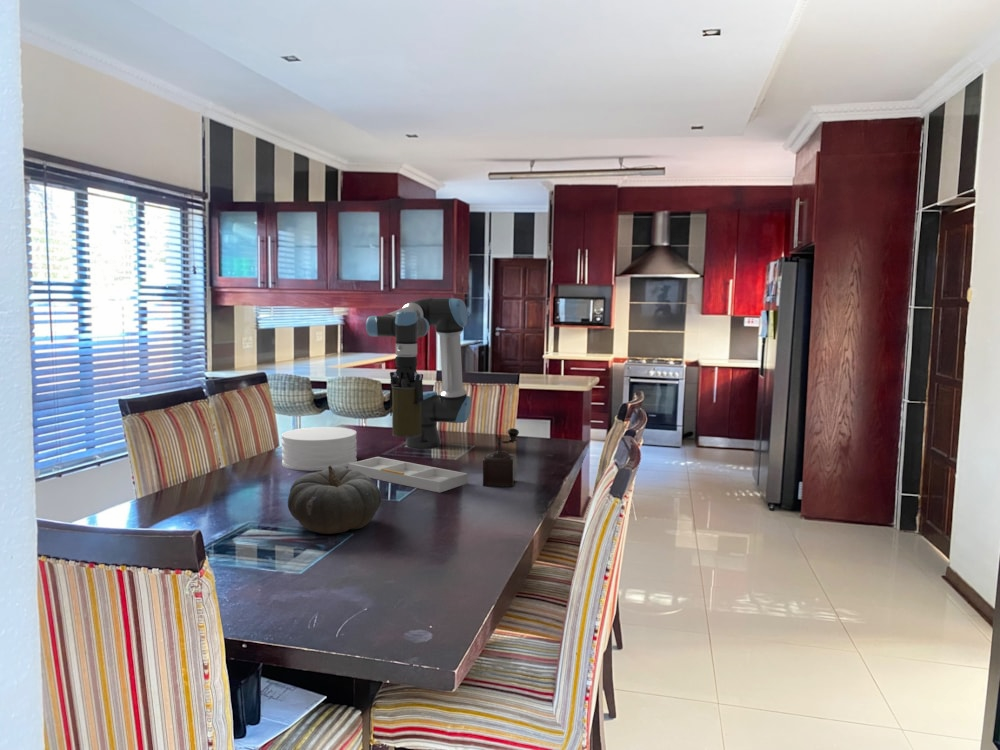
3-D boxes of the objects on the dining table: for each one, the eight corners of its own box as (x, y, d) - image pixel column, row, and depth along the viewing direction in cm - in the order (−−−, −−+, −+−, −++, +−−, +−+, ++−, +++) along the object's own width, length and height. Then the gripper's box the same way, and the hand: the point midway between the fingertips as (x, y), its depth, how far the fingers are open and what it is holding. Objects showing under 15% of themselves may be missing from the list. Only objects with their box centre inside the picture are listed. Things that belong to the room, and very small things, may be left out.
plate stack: (365, 455, 282) (365, 427, 281) (343, 472, 255) (343, 441, 253) (298, 453, 285) (298, 425, 284) (269, 469, 257) (269, 438, 256)
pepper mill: (514, 487, 235) (515, 435, 234) (482, 486, 237) (482, 434, 235) (518, 476, 251) (519, 427, 249) (488, 475, 252) (489, 426, 250)
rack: (348, 473, 252) (348, 462, 252) (377, 465, 265) (377, 455, 264) (439, 492, 228) (439, 480, 228) (467, 483, 240) (467, 472, 240)
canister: (424, 432, 249) (424, 377, 247) (418, 438, 239) (418, 380, 237) (394, 432, 250) (394, 376, 248) (387, 437, 240) (386, 379, 238)
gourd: (345, 497, 211) (345, 444, 206) (400, 528, 196) (402, 471, 191) (271, 524, 193) (270, 467, 188) (326, 560, 178) (326, 499, 173)
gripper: (378, 354, 244) (378, 419, 247) (420, 357, 233) (419, 425, 236) (393, 353, 250) (393, 417, 253) (434, 356, 240) (434, 423, 242)
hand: (406, 421), depth 244 cm, fingers open, 6 cm apart
